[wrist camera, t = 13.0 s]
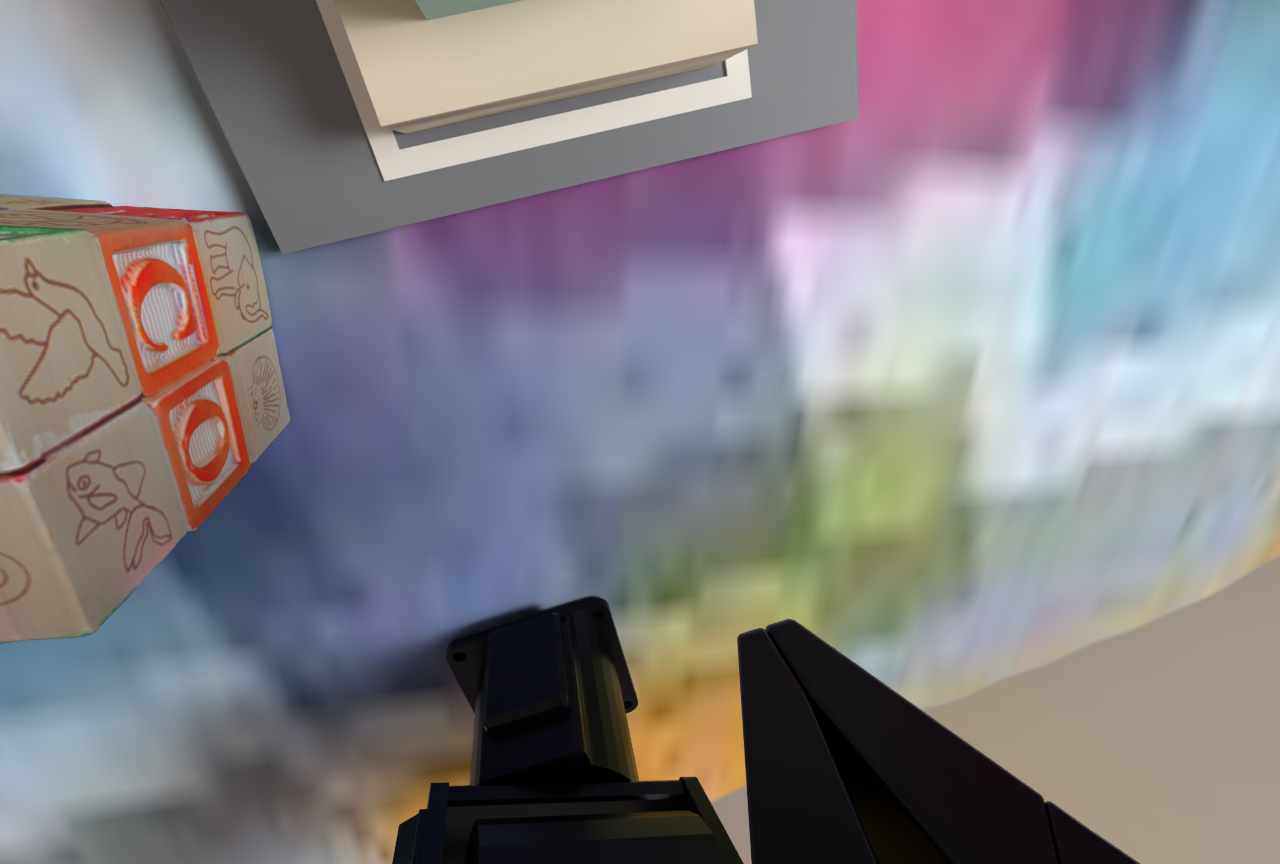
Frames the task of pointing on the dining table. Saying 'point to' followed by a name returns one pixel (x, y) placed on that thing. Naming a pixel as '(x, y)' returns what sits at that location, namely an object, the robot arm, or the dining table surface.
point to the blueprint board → (492, 145)
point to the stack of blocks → (121, 396)
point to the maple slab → (530, 52)
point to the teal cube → (456, 6)
